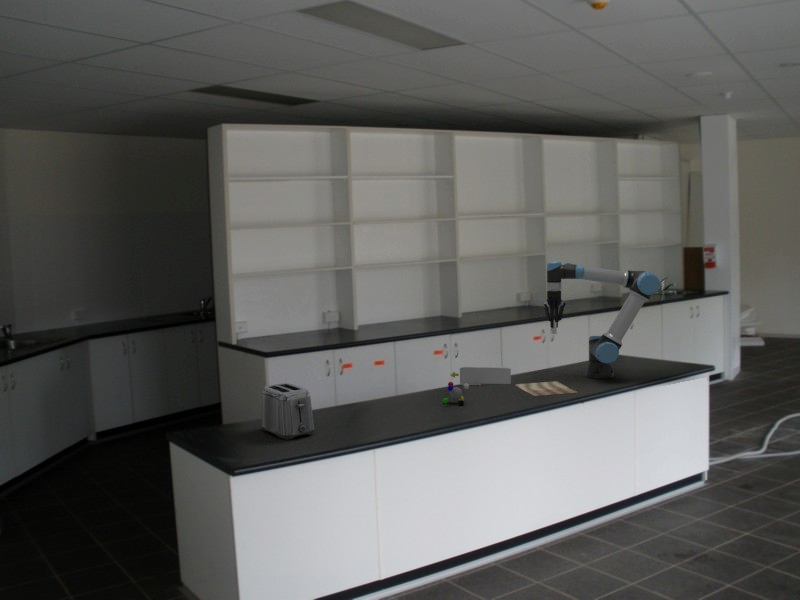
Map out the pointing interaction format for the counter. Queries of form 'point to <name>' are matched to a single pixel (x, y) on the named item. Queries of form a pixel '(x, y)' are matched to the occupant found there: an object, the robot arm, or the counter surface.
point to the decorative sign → (484, 375)
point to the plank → (541, 386)
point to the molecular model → (456, 393)
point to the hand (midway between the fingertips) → (554, 333)
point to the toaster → (287, 410)
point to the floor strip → (552, 392)
